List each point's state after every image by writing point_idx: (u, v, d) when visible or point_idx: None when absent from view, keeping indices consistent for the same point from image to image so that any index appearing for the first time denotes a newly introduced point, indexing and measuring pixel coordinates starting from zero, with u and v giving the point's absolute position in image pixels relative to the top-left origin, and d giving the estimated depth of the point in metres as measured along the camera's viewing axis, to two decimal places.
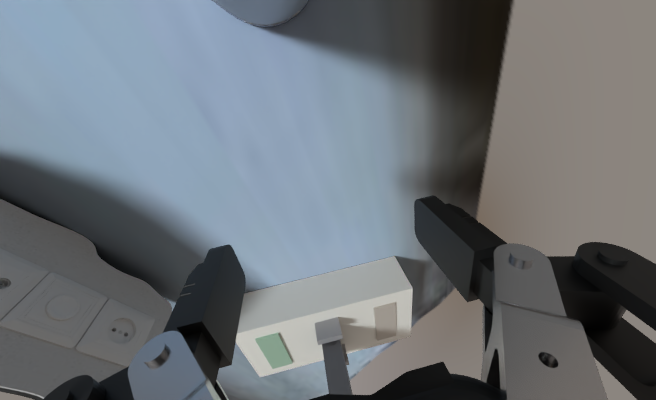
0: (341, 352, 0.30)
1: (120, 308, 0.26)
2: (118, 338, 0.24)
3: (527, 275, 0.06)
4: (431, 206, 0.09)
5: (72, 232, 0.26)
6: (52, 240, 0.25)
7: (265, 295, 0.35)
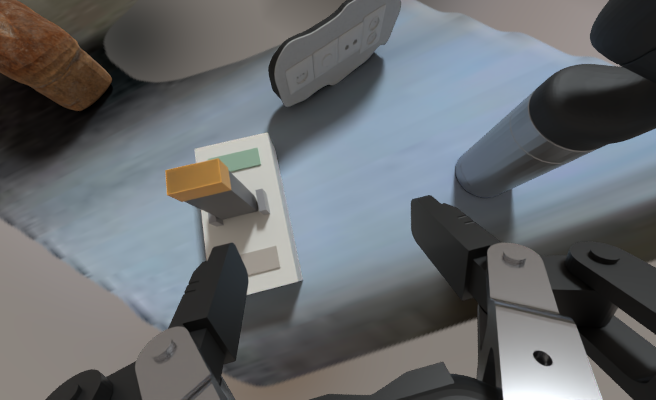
0: (251, 206, 0.33)
1: (308, 81, 0.43)
2: (299, 73, 0.41)
3: (519, 274, 0.06)
4: (427, 206, 0.09)
5: (341, 79, 0.50)
6: (343, 70, 0.48)
7: (278, 166, 0.44)
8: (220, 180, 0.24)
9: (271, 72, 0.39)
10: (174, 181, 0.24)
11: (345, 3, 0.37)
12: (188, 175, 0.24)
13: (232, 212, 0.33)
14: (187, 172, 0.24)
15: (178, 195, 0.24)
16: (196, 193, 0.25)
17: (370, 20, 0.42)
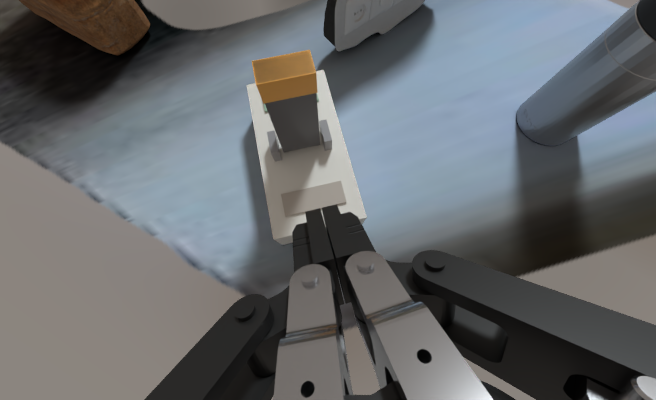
0: (319, 133, 0.30)
1: (363, 21, 0.41)
2: (357, 8, 0.39)
3: (360, 280, 0.07)
4: (328, 215, 0.10)
5: (390, 29, 0.48)
6: (395, 17, 0.46)
7: None
8: (314, 71, 0.21)
9: (331, 2, 0.36)
10: (263, 72, 0.21)
11: None
12: (278, 66, 0.21)
13: (297, 140, 0.31)
14: (276, 63, 0.21)
15: (265, 89, 0.21)
16: (283, 90, 0.22)
17: None
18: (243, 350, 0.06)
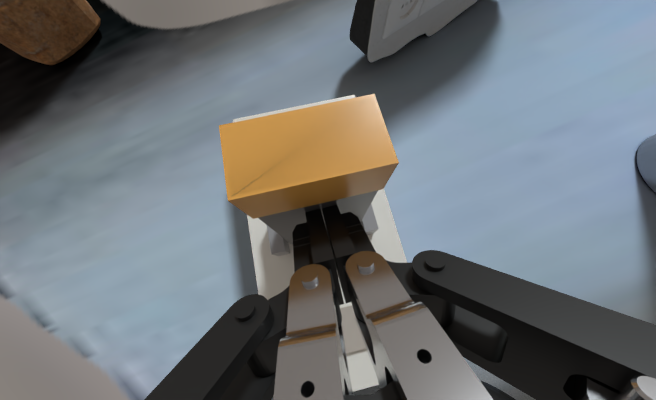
0: None
1: (412, 17, 0.27)
2: None
3: (360, 280, 0.07)
4: (328, 215, 0.10)
5: (440, 28, 0.34)
6: (449, 12, 0.32)
7: None
8: (392, 156, 0.08)
9: None
10: (249, 159, 0.08)
11: None
12: (291, 141, 0.08)
13: None
14: (286, 132, 0.08)
15: (257, 202, 0.08)
16: (303, 197, 0.08)
17: None
18: (244, 350, 0.06)
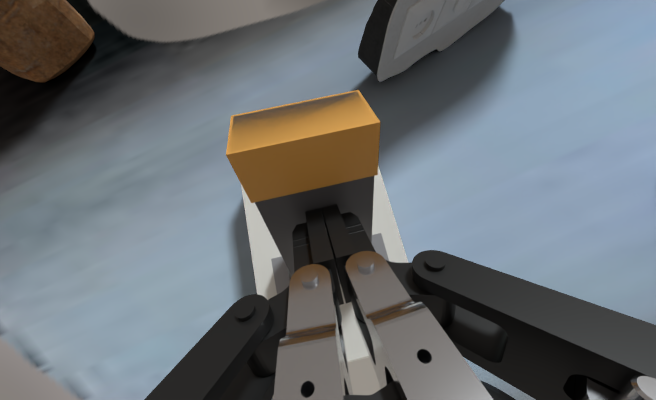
0: None
1: (425, 36, 0.26)
2: (421, 17, 0.23)
3: (360, 280, 0.07)
4: (328, 214, 0.10)
5: (451, 43, 0.32)
6: (462, 27, 0.31)
7: None
8: (375, 120, 0.08)
9: (382, 9, 0.21)
10: (250, 130, 0.09)
11: None
12: (287, 119, 0.09)
13: None
14: (284, 114, 0.09)
15: (253, 166, 0.09)
16: (297, 170, 0.09)
17: None
18: (243, 350, 0.06)
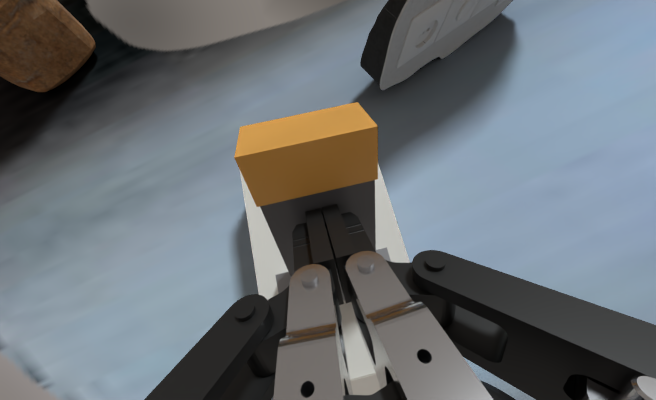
0: None
1: (427, 45, 0.25)
2: None
3: (360, 280, 0.07)
4: (328, 214, 0.10)
5: (453, 50, 0.32)
6: (464, 35, 0.30)
7: None
8: (372, 125, 0.09)
9: (385, 20, 0.21)
10: (257, 138, 0.09)
11: None
12: (291, 127, 0.10)
13: None
14: (289, 124, 0.10)
15: (259, 169, 0.09)
16: (300, 173, 0.10)
17: None
18: (244, 350, 0.06)
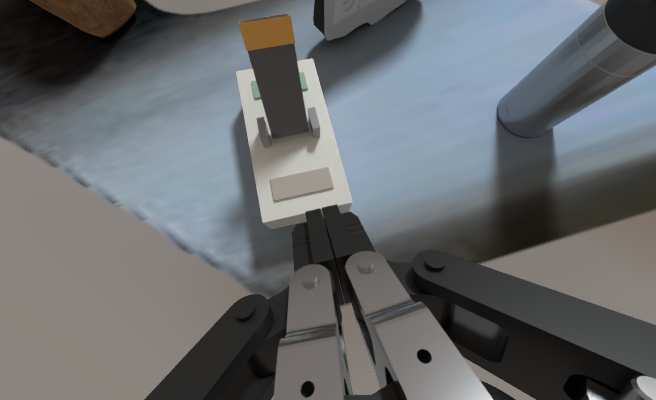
0: None
1: (353, 11, 0.42)
2: None
3: (360, 280, 0.07)
4: (328, 215, 0.10)
5: (379, 19, 0.49)
6: (384, 8, 0.47)
7: None
8: (289, 16, 0.25)
9: None
10: (247, 21, 0.25)
11: None
12: (260, 18, 0.26)
13: (284, 116, 0.31)
14: (259, 18, 0.26)
15: (247, 30, 0.25)
16: (263, 35, 0.25)
17: None
18: (244, 350, 0.06)
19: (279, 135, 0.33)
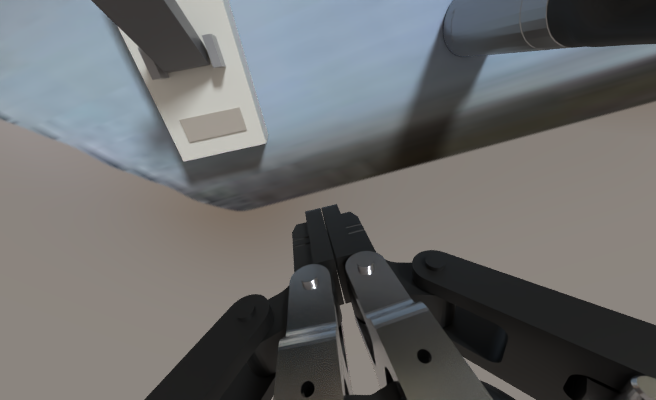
0: (197, 48, 0.26)
1: None
2: None
3: (360, 280, 0.07)
4: (328, 214, 0.10)
5: None
6: None
7: None
8: None
9: None
10: None
11: None
12: None
13: (173, 56, 0.26)
14: None
15: None
16: None
17: None
18: (244, 350, 0.06)
19: (175, 71, 0.29)
